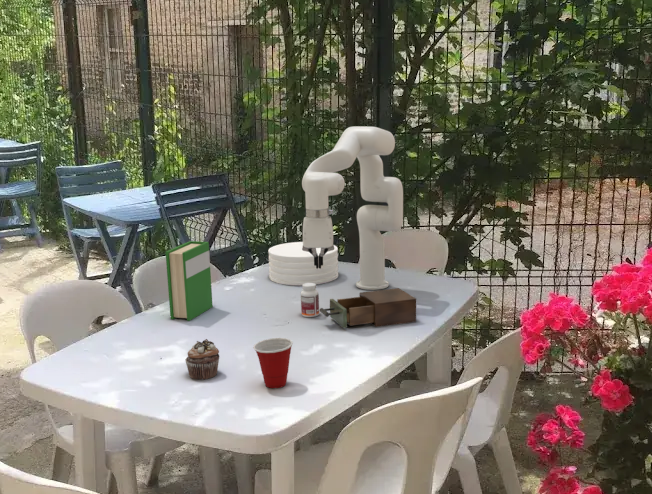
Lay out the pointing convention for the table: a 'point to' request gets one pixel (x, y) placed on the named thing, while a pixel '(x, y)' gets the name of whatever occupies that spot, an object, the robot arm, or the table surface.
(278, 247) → the plate stack
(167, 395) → the table surface
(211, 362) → the cupcake
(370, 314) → the drawer
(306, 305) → the pill bottle
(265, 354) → the plastic cup
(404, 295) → the cabinet
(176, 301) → the hardback book
